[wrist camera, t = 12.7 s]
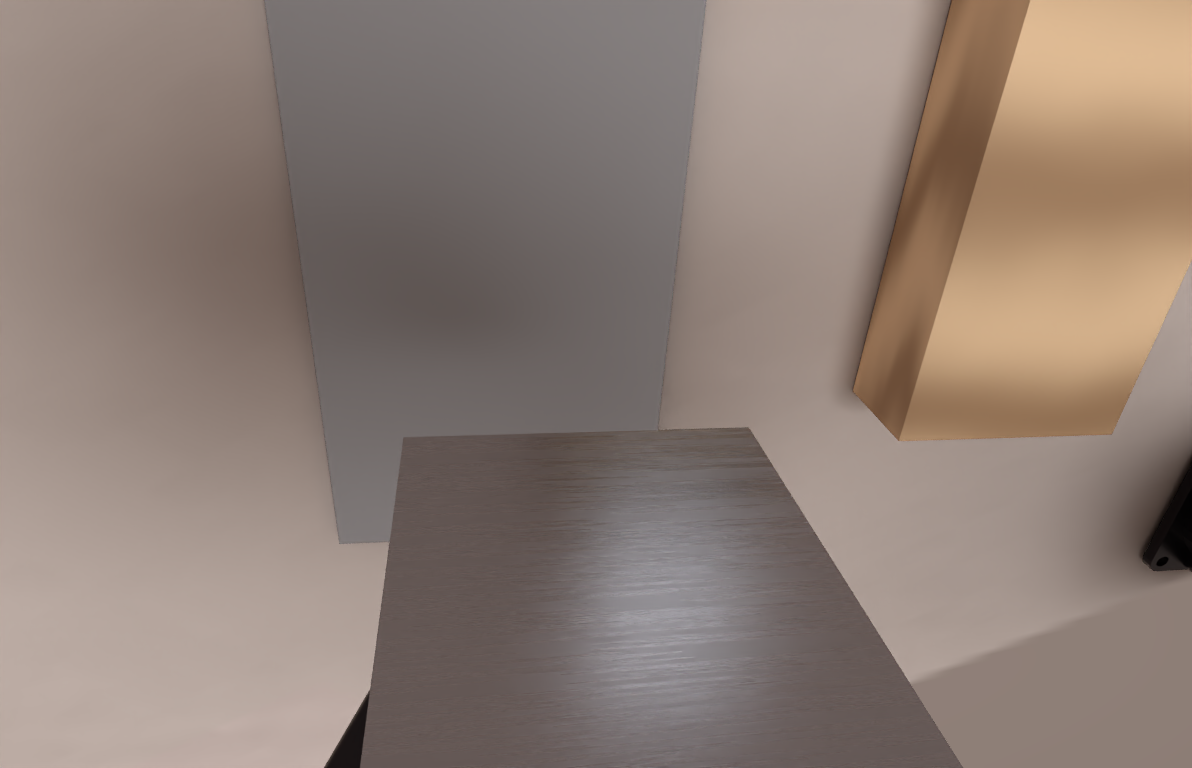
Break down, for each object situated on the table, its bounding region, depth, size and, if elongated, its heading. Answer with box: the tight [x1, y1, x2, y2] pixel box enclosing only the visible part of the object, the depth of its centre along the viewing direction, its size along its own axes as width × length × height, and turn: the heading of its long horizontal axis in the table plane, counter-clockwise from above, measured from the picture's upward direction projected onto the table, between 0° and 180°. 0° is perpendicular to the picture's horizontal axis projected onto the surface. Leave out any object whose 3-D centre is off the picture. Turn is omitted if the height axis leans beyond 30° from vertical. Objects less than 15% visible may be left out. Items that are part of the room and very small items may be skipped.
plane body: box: [853, 0, 1192, 441], centre depth 19 cm, size 14×7×5 cm, turn 177°
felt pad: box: [264, 0, 706, 544], centre depth 21 cm, size 16×10×1 cm, turn 177°
